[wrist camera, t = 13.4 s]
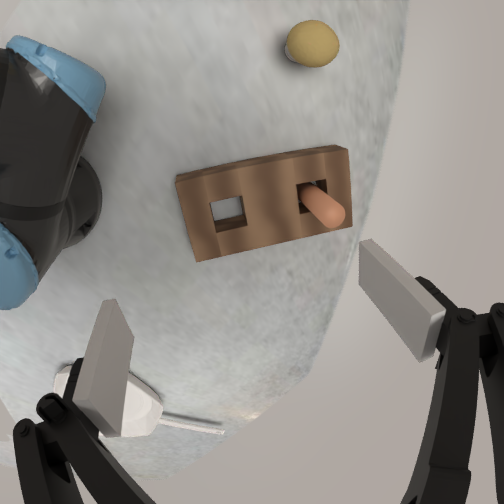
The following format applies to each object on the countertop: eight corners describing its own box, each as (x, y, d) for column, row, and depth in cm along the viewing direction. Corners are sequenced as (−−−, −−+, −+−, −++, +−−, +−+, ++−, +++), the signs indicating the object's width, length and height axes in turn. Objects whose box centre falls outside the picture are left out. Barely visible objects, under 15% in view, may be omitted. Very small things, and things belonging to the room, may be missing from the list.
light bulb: (325, 57, 39) (357, 48, 30) (293, 79, 40) (318, 75, 31) (299, 23, 36) (325, 7, 27) (265, 46, 37) (284, 32, 28)
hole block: (195, 248, 49) (196, 262, 45) (176, 175, 44) (174, 182, 40) (340, 216, 51) (352, 226, 47) (335, 144, 45) (347, 149, 41)
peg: (293, 200, 49) (322, 230, 38) (291, 180, 47) (320, 206, 36) (313, 196, 49) (346, 224, 38) (310, 176, 47) (344, 200, 37)
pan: (61, 337, 53) (55, 352, 49) (245, 389, 67) (248, 404, 63) (56, 407, 62) (52, 420, 58) (202, 444, 76) (203, 457, 72)
